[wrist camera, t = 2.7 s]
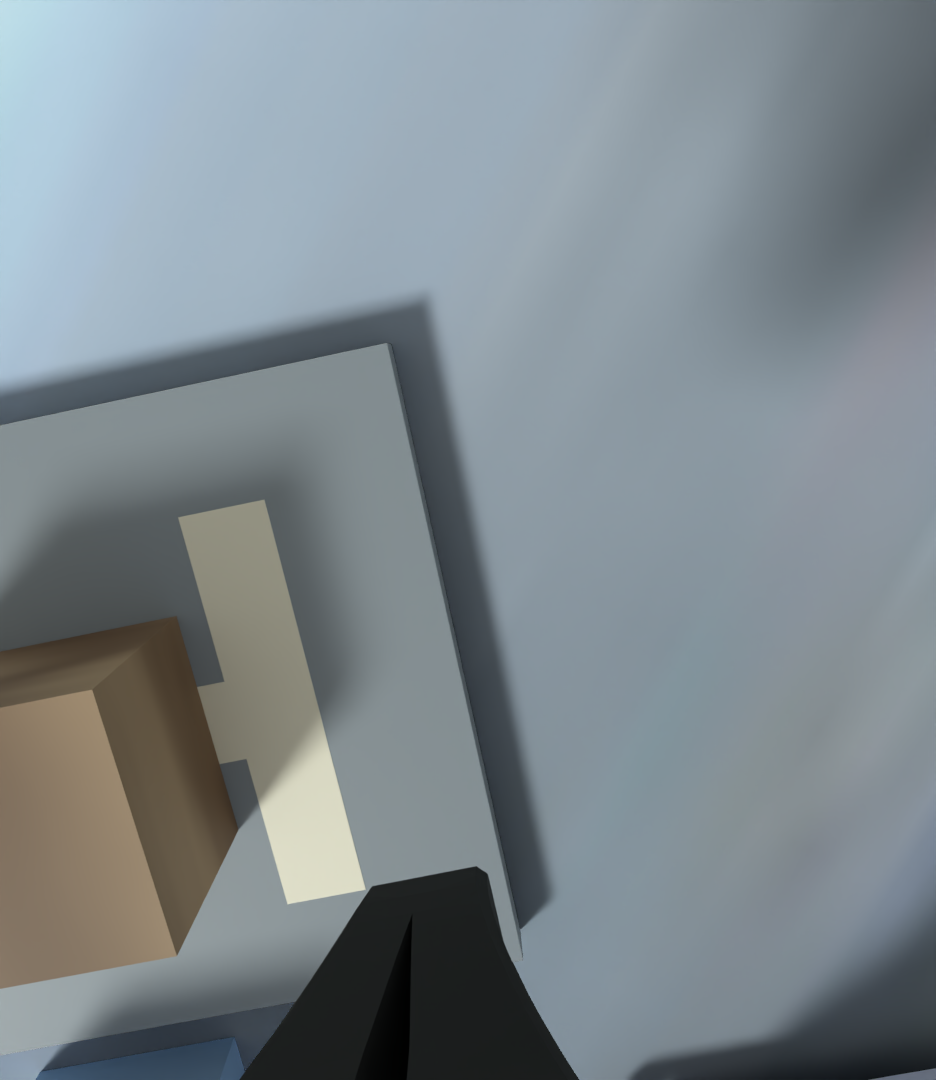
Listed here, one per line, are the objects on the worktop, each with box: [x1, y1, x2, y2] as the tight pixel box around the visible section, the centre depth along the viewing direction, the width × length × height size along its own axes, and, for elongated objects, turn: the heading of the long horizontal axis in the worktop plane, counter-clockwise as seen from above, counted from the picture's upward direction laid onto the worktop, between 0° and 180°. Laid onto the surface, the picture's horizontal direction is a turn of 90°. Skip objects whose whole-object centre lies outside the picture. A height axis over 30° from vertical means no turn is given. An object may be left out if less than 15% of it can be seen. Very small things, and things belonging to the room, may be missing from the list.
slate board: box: [0, 343, 523, 1055], centre depth 18 cm, size 16×14×1 cm
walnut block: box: [0, 616, 238, 989], centre depth 16 cm, size 5×5×4 cm
